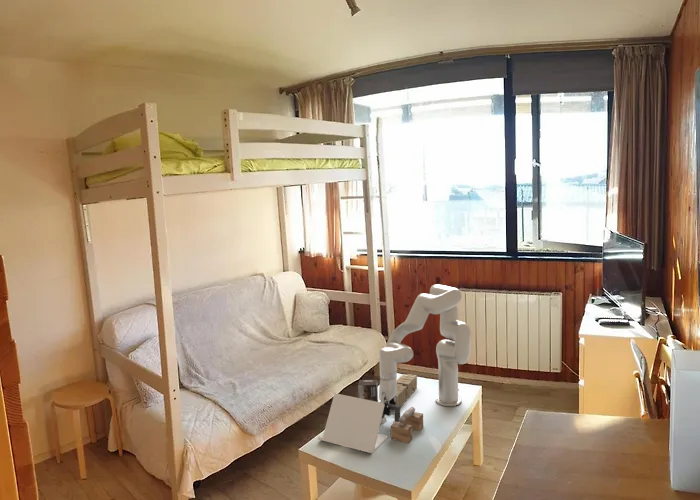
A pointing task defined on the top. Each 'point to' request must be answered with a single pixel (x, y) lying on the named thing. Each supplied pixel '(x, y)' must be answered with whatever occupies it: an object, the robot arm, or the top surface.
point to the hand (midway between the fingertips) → (389, 411)
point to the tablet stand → (354, 423)
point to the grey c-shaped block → (396, 413)
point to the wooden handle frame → (406, 425)
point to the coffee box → (368, 390)
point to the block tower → (405, 388)
